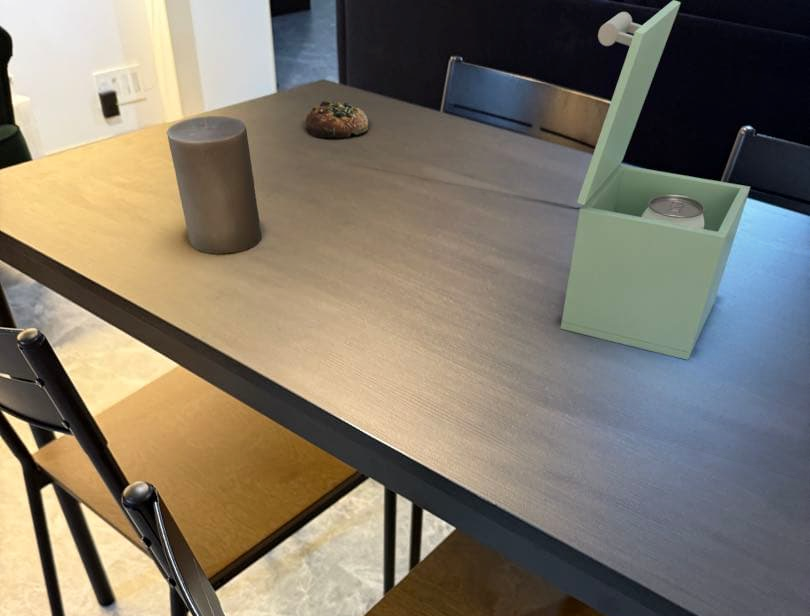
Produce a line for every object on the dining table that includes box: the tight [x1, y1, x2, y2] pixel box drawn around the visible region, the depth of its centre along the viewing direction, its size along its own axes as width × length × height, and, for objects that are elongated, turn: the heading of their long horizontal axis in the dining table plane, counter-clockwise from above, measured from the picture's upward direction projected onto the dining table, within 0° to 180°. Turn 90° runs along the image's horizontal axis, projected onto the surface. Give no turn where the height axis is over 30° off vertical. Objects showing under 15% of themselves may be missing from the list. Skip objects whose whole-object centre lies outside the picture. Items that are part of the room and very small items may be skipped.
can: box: [642, 195, 705, 229], centre depth 82 cm, size 6×6×12 cm
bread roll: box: [305, 100, 369, 139], centre depth 132 cm, size 11×11×5 cm
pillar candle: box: [166, 115, 263, 255], centre depth 97 cm, size 10×10×15 cm
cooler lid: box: [576, 0, 681, 206], centre depth 75 cm, size 15×14×5 cm
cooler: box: [560, 164, 751, 361], centre depth 83 cm, size 14×14×13 cm
